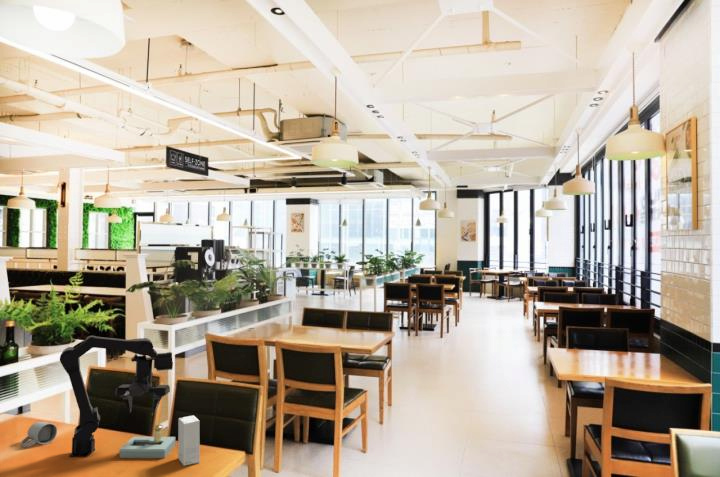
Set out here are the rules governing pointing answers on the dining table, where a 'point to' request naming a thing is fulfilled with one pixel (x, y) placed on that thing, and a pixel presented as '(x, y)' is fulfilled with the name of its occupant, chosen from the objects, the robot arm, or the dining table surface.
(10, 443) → the dining table surface
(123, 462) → the dining table surface
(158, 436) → the brass door knob
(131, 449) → the keyhole plate
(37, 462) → the dining table surface
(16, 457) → the dining table surface
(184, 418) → the skincare box
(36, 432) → the ceramic mug
